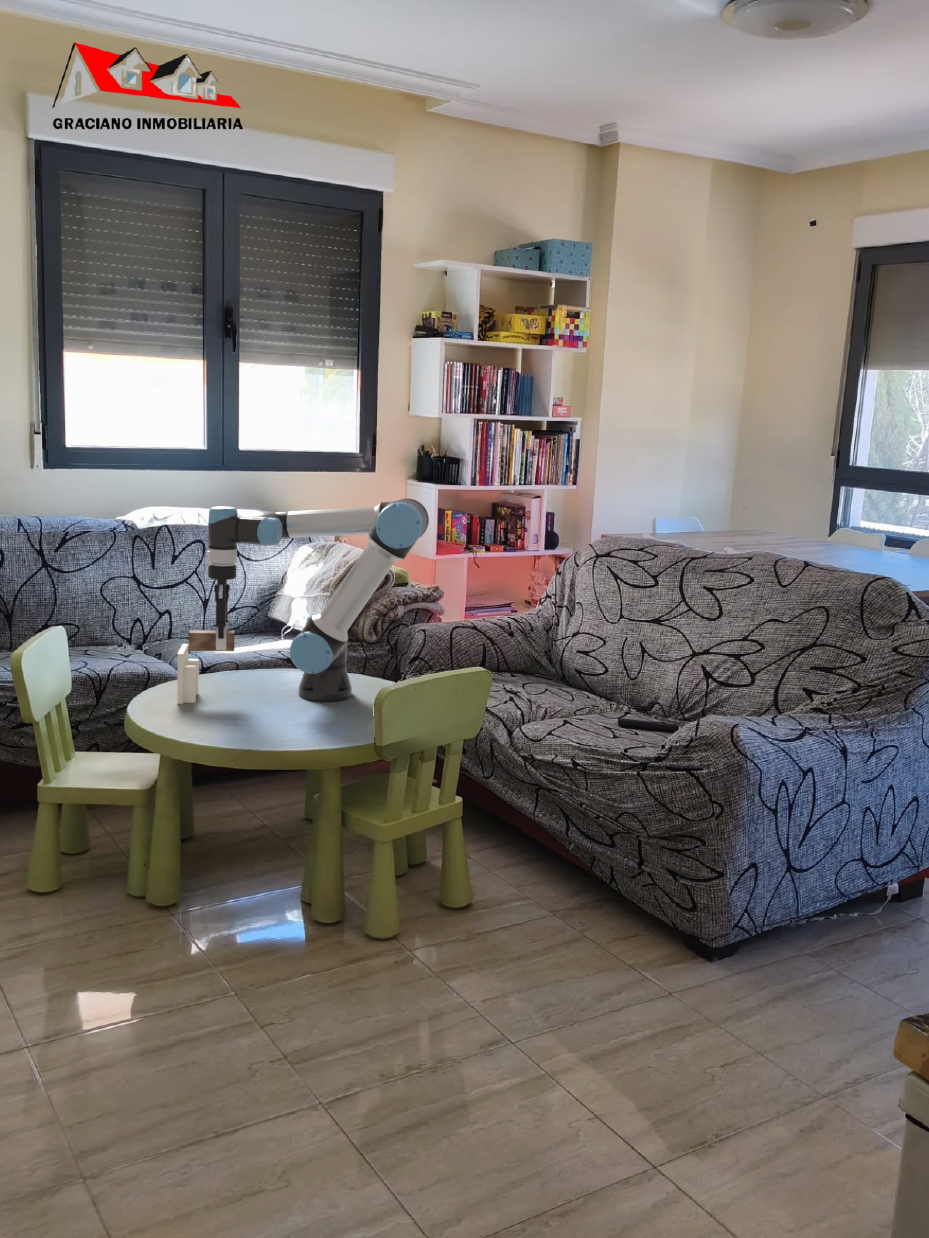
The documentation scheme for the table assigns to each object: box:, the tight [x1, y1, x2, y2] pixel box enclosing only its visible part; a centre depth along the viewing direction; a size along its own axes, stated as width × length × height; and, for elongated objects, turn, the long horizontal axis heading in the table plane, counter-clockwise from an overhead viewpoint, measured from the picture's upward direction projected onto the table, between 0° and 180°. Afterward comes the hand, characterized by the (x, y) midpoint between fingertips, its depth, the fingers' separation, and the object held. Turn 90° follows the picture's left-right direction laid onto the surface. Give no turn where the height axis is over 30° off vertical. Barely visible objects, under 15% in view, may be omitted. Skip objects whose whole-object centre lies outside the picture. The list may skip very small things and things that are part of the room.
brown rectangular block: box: [188, 629, 236, 652], centre depth 299 cm, size 12×4×5 cm, turn 100°
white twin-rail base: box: [177, 643, 200, 705], centre depth 301 cm, size 4×12×14 cm, turn 8°
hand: (221, 647), depth 300 cm, fingers closed on brown rectangular block, 4 cm apart
